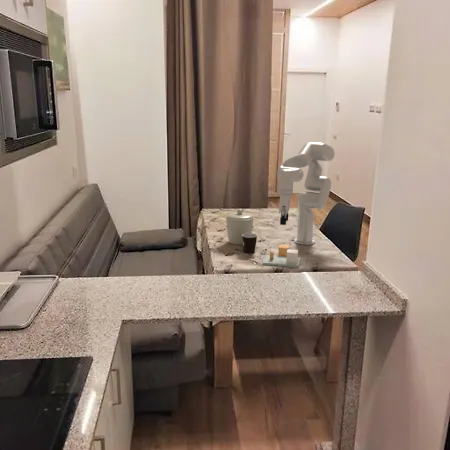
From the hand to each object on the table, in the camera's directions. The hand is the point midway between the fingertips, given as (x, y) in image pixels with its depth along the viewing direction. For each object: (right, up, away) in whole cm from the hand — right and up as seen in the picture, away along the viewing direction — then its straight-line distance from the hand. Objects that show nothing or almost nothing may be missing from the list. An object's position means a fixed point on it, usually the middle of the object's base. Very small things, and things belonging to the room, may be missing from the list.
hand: (284, 222), depth 248 cm
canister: (-24, -12, +28) cm, 39 cm away
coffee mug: (-18, -17, +12) cm, 28 cm away
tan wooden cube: (0, -19, +5) cm, 19 cm away
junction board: (-2, -21, -5) cm, 22 cm away
